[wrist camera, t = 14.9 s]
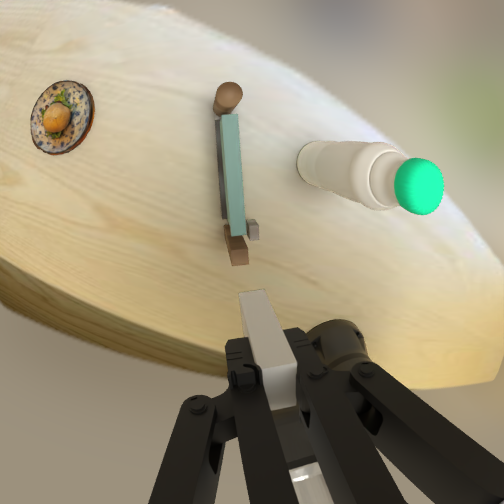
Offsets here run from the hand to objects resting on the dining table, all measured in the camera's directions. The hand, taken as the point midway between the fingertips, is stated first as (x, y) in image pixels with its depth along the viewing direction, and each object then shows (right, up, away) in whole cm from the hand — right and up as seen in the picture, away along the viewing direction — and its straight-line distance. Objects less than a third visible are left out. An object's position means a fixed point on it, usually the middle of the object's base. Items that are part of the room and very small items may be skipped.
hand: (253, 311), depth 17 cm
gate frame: (-3, +16, +24) cm, 29 cm away
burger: (-29, +24, +16) cm, 41 cm away
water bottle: (+10, +17, +26) cm, 33 cm away
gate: (-3, +15, +22) cm, 27 cm away
